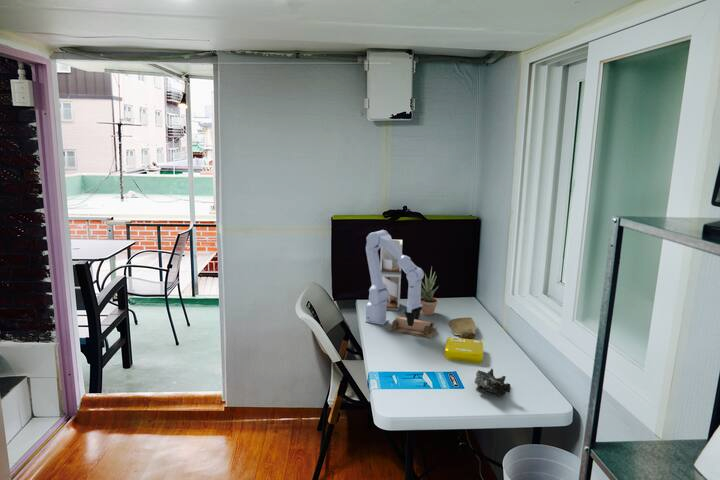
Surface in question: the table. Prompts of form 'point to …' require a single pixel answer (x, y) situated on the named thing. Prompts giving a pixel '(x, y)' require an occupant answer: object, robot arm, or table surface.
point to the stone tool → (463, 327)
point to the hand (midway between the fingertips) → (412, 322)
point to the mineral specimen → (491, 383)
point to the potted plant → (428, 296)
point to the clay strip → (416, 325)
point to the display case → (391, 275)
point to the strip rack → (426, 333)
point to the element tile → (464, 350)
